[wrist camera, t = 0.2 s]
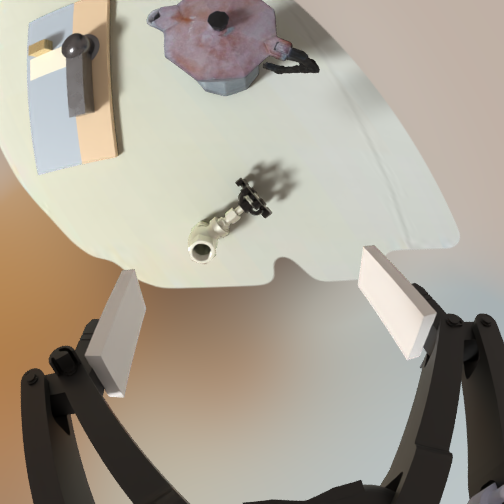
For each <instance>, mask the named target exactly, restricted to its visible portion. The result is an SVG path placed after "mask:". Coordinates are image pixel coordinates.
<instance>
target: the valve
mask: <svg viewBox="0 0 504 504" xmlns="http://www.w3.org/2000/svg"><path fill="white" fill-rule="evenodd" d="M235 183H236V184H237V186H241V187H242V188H243V189H241V190H240V191H241V193H240V194H239V196H238V199H239V201H238V204H239V206H238V207H237V208H236V209H234V208H231V209H230V210H229V211H227V212H226V213H225V216H226V217H224V218H223V217H220V218H217V217H214V218H213V219H212V220H211V221H210V223H206V222H203V221H200V222H199V223H198V224H197V225H196V226H194V227H193V228H192V230H191V233H190V235H189V238H188V250H189V254H190V257H191V260H192V261H194V262H197V263H201V264H207V263H208V262H209V261H211V260H212V259H213V258H214V257H215V256H216V248H217V245H218V239H219V238H220V237H222V238H224V237H225V236H226V235H228V234H229V230H228V228H229V227H230V225H229V224H230V223H232V224H234V223H236V222H237V221H238V220H239V219H240V218H241V217H240V214H241V213H242V212H244V211H245V212H246V213H248V212H250V213H251V214H252V215H260V214H261V213H262V214H261V215H262V216H263V217H264V218H267V217H268V216H269V215H271V214H272V211H271V210H270V209H269V208H268V207H266V203H265V201H264V200H263V199H261V198H260V197H259V196H258V195H257V192H256V191H255V189H254V188H253V187H252V188H251V187H250V186H249V184H248V182H247V181H246V180H245V179H242V178H240V179H238V180H237V181H236V182H235ZM253 208H255V209H256V210H257V209H259V210H258V211H256V212H255V211H254V210H253Z"/></svg>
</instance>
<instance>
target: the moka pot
mask: <svg viewBox="0 0 504 504" xmlns="http://www.w3.org/2000/svg"><path fill="white" fill-rule="evenodd" d="M147 24H148V25H150V26H152V27H154V28H157V29H158V30H160V31H162V32H163V33H164V51H165V57H166V58H167V59H168V60H170V61H171V62H173V63H174V64H175V65H177V66H178V67H179V68H181V69H182V70H183V71H185V72H186V73H187V74H189V75H190V76H191V77H193V78H194V79H195V80H196V81H197V82H198V83H199V84H200V85H201V86H202V87H203V89H204V90H205V91H207V92H210V93H214V94H218V95H223V96H228V95H232V94H235V93H238V92H241V91H243V90H246V89H247V88H248V87H249V86H250V84H251V83H252V82H253V81H254V79H255V78H256V77H257V76H258V74H259V64H260V63H261V62H263V61H264V60H265V59H266V58H267V57H268V56H273V57H275V58H276V59H279V60H282V61H285V60H286V59H287V60H291V61H295V62H299V64H300V65H299V66H298V65H296V66H293V67H289V66H288V67H284V66H279V65H275V64H272V63H268V62H266V64H263V68H265V69H268V70H271V71H274V72H275V73H277V74H283V73H300V72H301V73H319V70H320V69H319V67H318V65H317V64H316V62H315V61H314V60H313V59H310V58H308V55H307V54H306V53H305V52H304V51H301V50H298V49H295V48H293V47H292V43H291V42H289V41H286V40H284V39H281V38H279V37H277V33H276V18H275V11H274V9H272V8H271V7H270V6H269V5H267V4H266V3H265V2H263V1H262V0H182V1H181V2H180V3H178V4H177V5H173V6H167V7H161V8H160V9H156V10H153V11H152V12H151V13H150V14H149V15H148V18H147Z"/></svg>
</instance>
